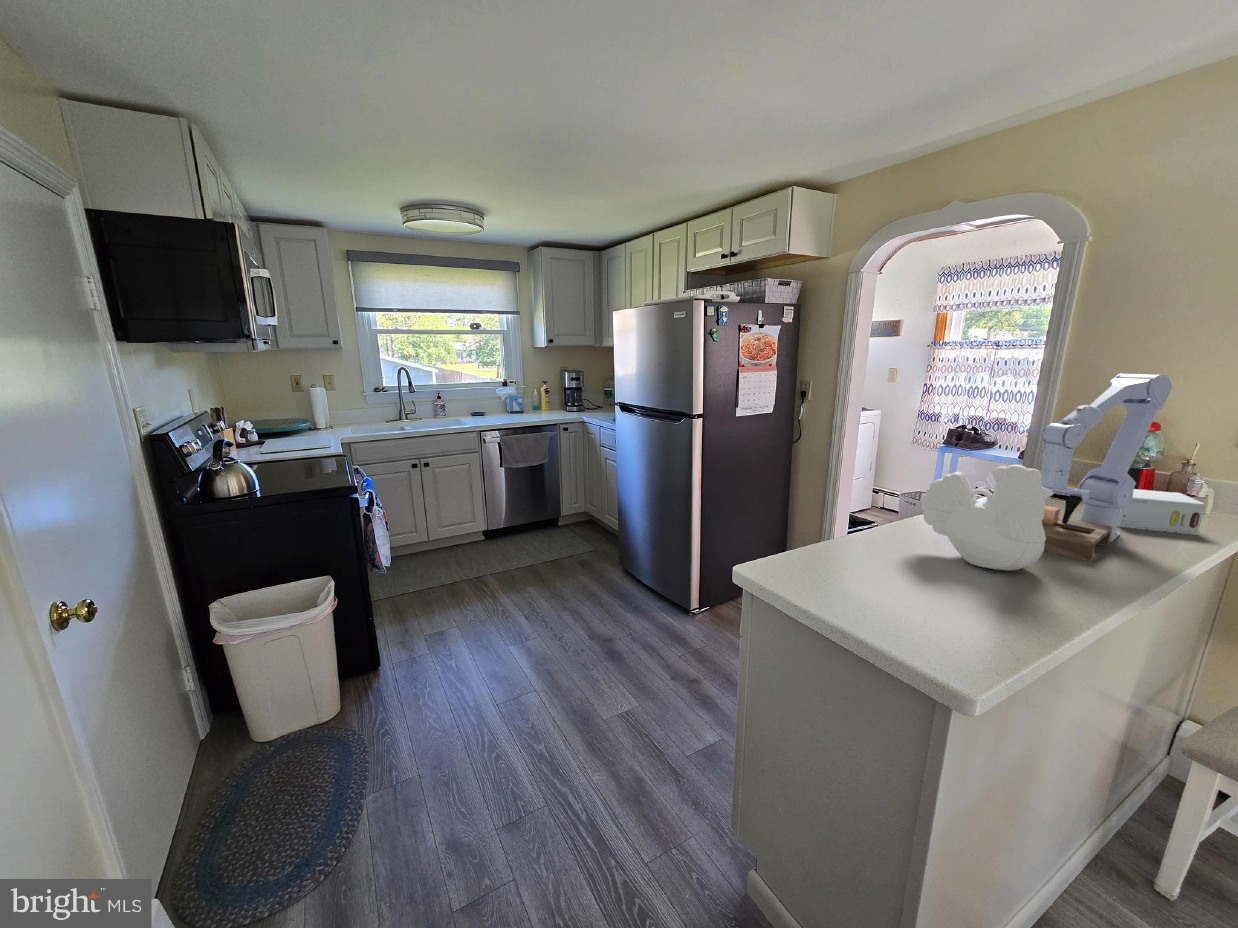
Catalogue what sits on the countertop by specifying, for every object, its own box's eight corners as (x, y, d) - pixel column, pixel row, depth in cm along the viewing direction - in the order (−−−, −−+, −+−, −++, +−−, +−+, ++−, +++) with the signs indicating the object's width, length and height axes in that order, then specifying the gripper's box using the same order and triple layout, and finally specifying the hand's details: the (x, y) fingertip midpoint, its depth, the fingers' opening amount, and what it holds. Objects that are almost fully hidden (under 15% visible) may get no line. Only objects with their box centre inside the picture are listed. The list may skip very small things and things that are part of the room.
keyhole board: (1032, 528, 143) (1035, 511, 142) (1108, 544, 130) (1112, 526, 129) (1009, 542, 133) (1012, 524, 132) (1089, 561, 120) (1093, 541, 119)
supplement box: (1117, 527, 144) (1123, 496, 142) (1098, 514, 155) (1104, 485, 153) (1198, 536, 136) (1207, 503, 134) (1173, 521, 148) (1180, 491, 146)
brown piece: (1035, 532, 137) (1040, 504, 135) (1056, 536, 133) (1061, 508, 132) (1030, 535, 134) (1035, 507, 133) (1050, 540, 131) (1056, 511, 129)
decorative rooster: (1052, 570, 115) (1072, 465, 110) (1018, 585, 108) (1038, 474, 102) (940, 537, 136) (952, 448, 131) (905, 548, 129) (916, 454, 124)
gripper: (1016, 466, 133) (1008, 515, 136) (1088, 476, 122) (1077, 529, 125) (1025, 463, 137) (1017, 510, 140) (1095, 472, 126) (1085, 523, 129)
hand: (1046, 519), depth 133 cm, fingers open, 7 cm apart
